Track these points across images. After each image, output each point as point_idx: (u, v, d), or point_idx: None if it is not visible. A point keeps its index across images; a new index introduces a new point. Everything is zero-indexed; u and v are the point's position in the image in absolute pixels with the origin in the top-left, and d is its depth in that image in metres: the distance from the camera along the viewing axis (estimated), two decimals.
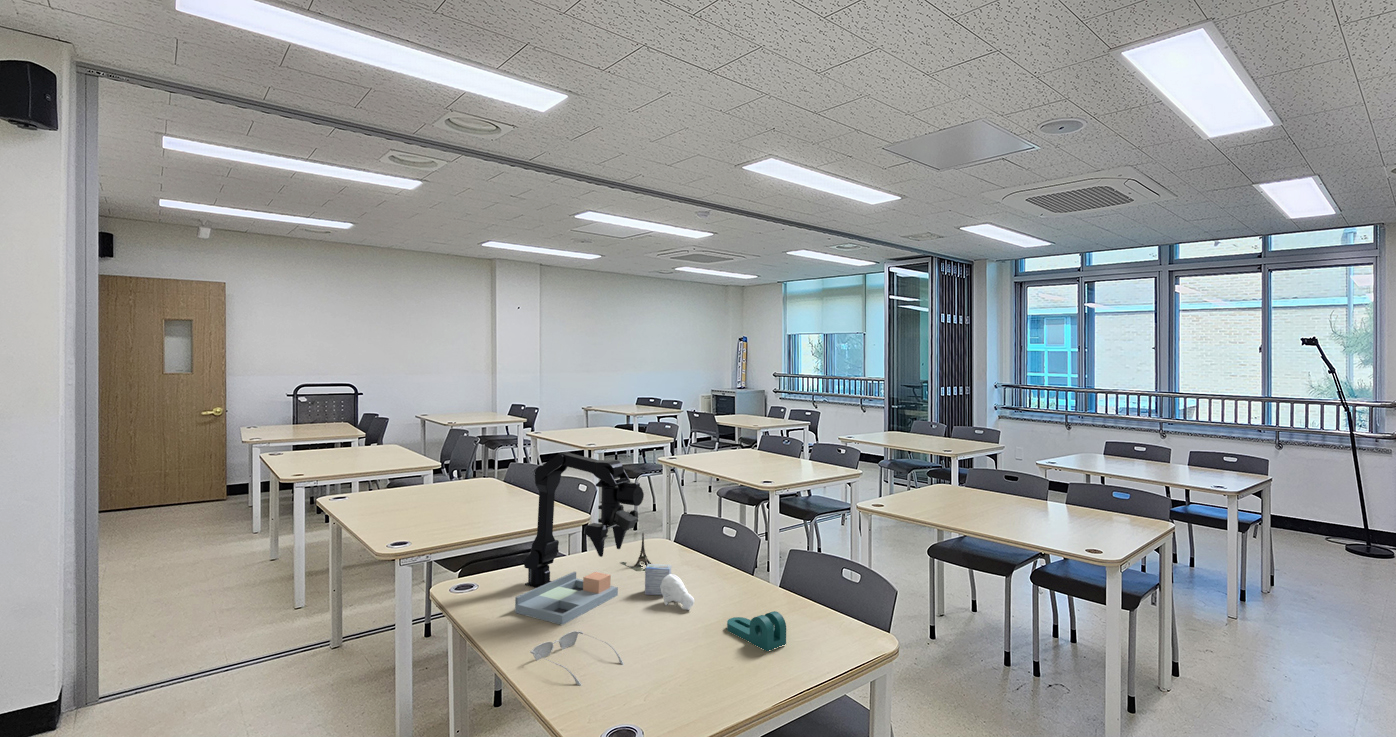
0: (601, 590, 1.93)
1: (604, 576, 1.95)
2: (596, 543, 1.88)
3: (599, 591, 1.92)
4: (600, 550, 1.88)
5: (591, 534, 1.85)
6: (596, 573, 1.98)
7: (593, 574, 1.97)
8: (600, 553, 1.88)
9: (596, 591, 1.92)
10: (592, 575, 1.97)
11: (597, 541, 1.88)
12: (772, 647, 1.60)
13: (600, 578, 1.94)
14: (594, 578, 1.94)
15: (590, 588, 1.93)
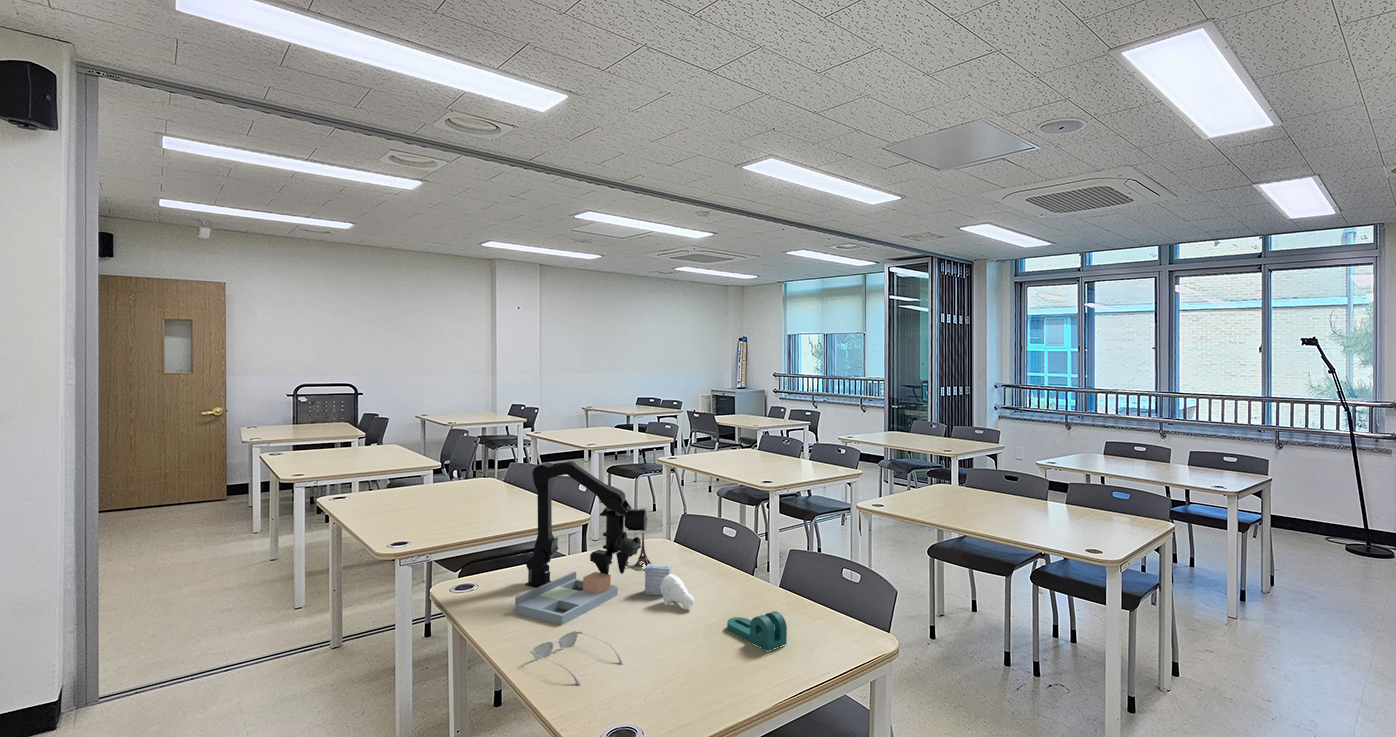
0: (601, 590, 1.93)
1: (604, 576, 1.95)
2: (601, 569, 1.99)
3: (599, 591, 1.92)
4: None
5: (596, 561, 1.96)
6: (596, 573, 1.98)
7: (593, 574, 1.97)
8: None
9: (596, 591, 1.92)
10: (592, 575, 1.97)
11: (602, 567, 1.99)
12: (772, 647, 1.60)
13: (600, 578, 1.94)
14: (594, 578, 1.94)
15: (590, 588, 1.93)
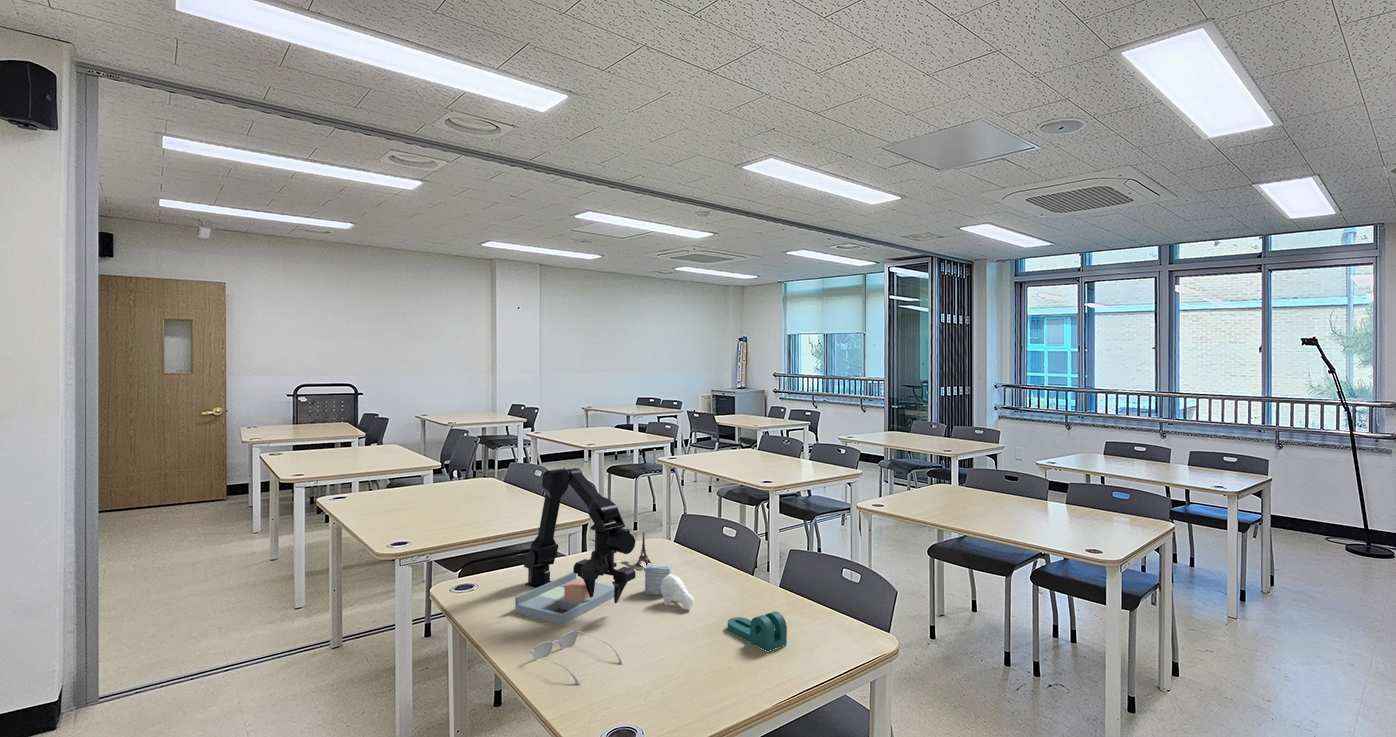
0: (583, 599, 1.85)
1: None
2: None
3: (580, 600, 1.85)
4: None
5: None
6: (577, 581, 1.90)
7: (575, 582, 1.90)
8: None
9: (577, 600, 1.85)
10: (573, 583, 1.89)
11: None
12: (772, 647, 1.60)
13: (582, 586, 1.86)
14: (575, 586, 1.86)
15: (571, 597, 1.86)
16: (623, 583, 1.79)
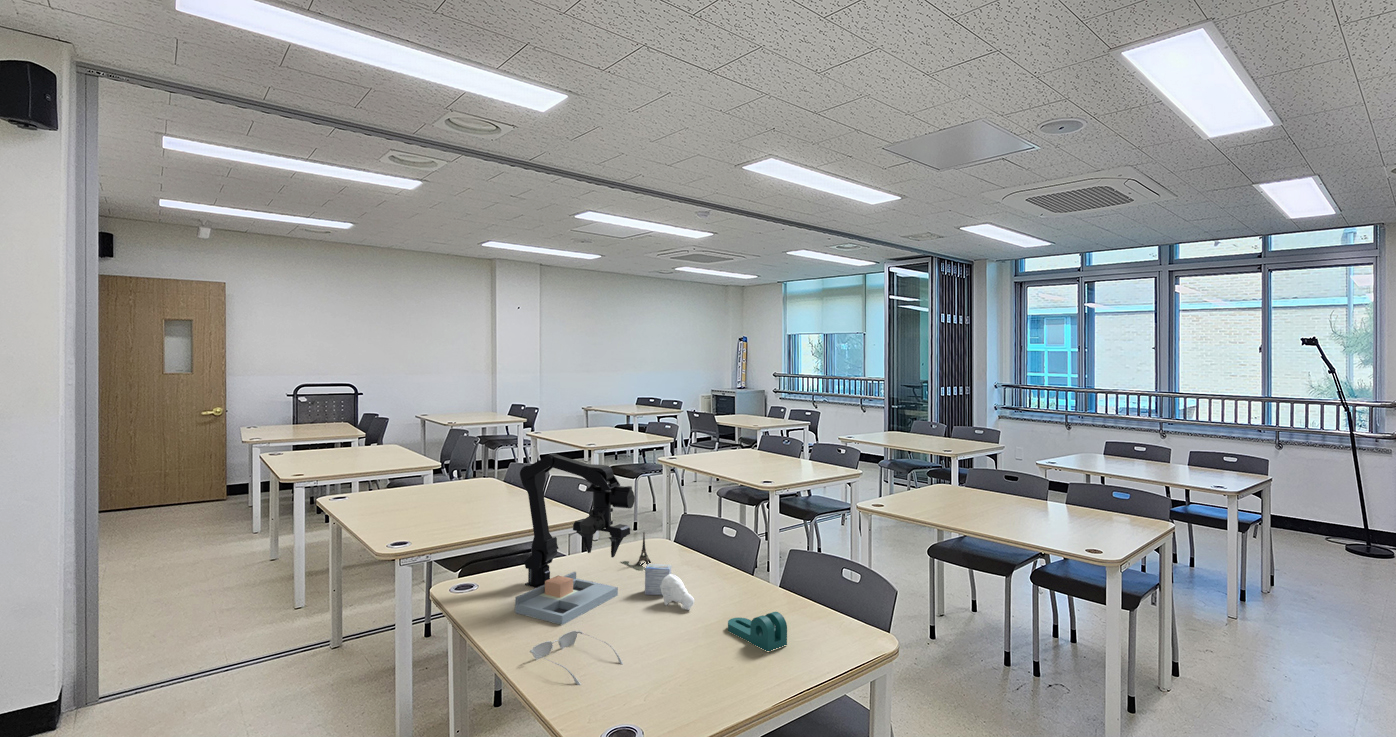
0: (563, 594, 1.89)
1: (566, 580, 1.91)
2: None
3: (560, 595, 1.88)
4: None
5: None
6: (558, 577, 1.94)
7: (555, 578, 1.93)
8: None
9: (557, 595, 1.88)
10: (554, 578, 1.93)
11: None
12: (773, 647, 1.60)
13: (562, 582, 1.90)
14: (556, 582, 1.89)
15: (552, 593, 1.89)
16: (619, 538, 1.94)
